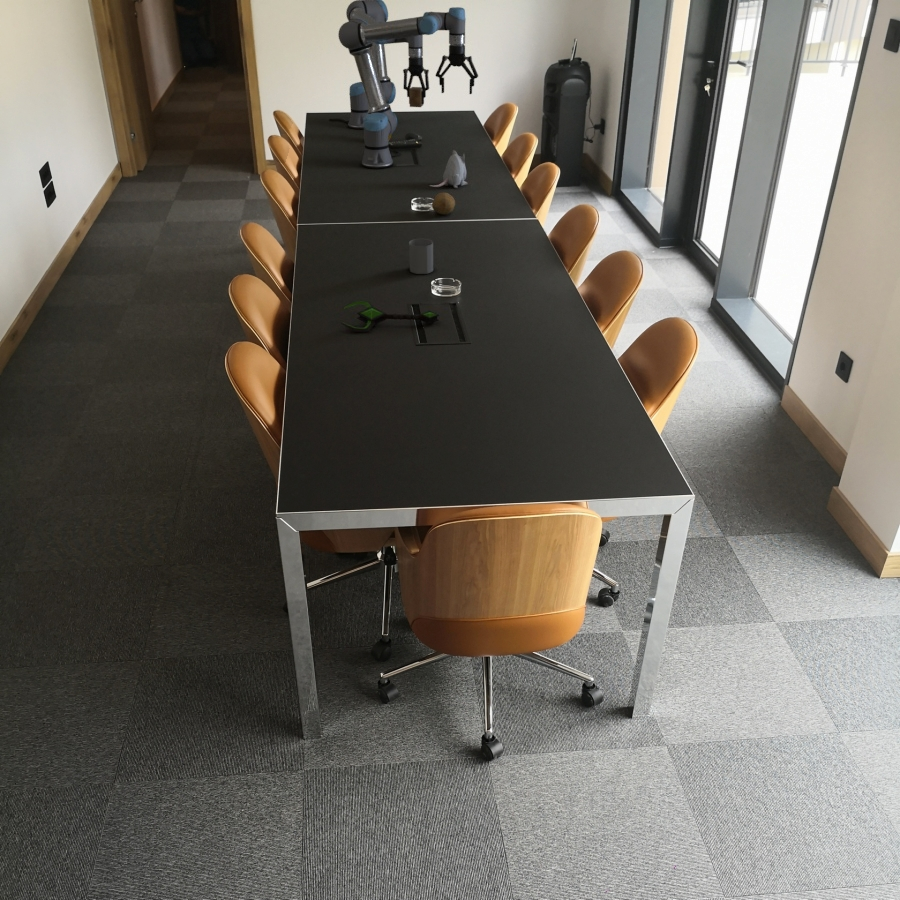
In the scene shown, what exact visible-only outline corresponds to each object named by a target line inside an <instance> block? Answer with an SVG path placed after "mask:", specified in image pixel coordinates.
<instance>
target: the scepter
mask: <svg viewBox="0 0 900 900" xmlns="http://www.w3.org/2000/svg"><path fill="white" fill-rule="evenodd" d="M357 305H360V306H361V305H362V306H365V307H367V308H364V309H363V310H360V311H358V312H357V313H356V315H359V316H358V317H357V318H356V319H357V320H358V321H361V322H362V323H364V324H366V326H365V327H355V326H352V325H351V324H348V323H345V322H341V325H343V326H344V327H346V328H348V330H351V331H353V332H357V333H368V332H370V330H371V329H372V328H373V326H376V325H377V324H380V323H382V322H384V321H386V320H401V321H402V320H409V321H411V320H413V321H418V320H420V322H423V323H425V324H428V325H431V324H434V323H437V322H438V321H439V319H438V317H440V314H438V313H436V312H433V311H432V310H428V311H426V312H423V313H420V314H409V313H408V314H407V313H405V314H403V313H401V314H399V313H398V314H397V313H386V312H384V311H383V310H380V309H378V308H377V307H376V306H375V307H374V306H373V304H372V303H371V302H370V301H369V300H355V301H352V302H350V303H348V304H346V305H345V306H343V307H342V310H344V309H345V310H346V309H347V308H350V307H353V306H357Z"/></svg>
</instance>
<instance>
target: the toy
mask: <svg viewBox="0 0 900 900" xmlns="http://www.w3.org/2000/svg"><path fill="white" fill-rule="evenodd" d="M466 178H467V168H466V156H465V153H463V154H462V155H459V154H458V153H457V151H456V150H455V149H453V150H452V153H451V155H450V156H449V158H448V161H447V163H446V166H445V170H444V171H443V177H442V179H443V181H442V182H441V183H439V184H436V185H435V184H433V185H432V184H430V185H428V186H429V187H434V188H440V187H443V186H446V187H448V186H449V185H451V186H453V188H455V189H459V187H458V186H461V187H462V186H467V185H468V182H467V181H465V180H466Z"/></svg>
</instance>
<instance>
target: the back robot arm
mask: <svg viewBox="0 0 900 900" xmlns="http://www.w3.org/2000/svg"><path fill="white" fill-rule="evenodd" d="M345 12H346V13H345V15H346V19H347V22H348V21H350V20H353V19H362V20H364V21H366V22H367V23H368V24H375V23H382V22H388V20H389V11H388V7H387V4H386V3H385V2H384V1H383V0H353V1H351V2H350V4H348V5H347V8H346V11H345ZM423 37H424V35H418V36H411V37H405V38H398V39H391V40H385V41H378V42H372V45H373V48H372V50H371V53H372V56H373V60H374V63H375V66H376V70H377V73H378V77H379V80H380V84H381V87H382V90H383V94H384V97H385V101H386V103H387V104H389V105H391V104H393V103H394V101H395V99H396V94H397V91H396V85H395V83H394V82H393V81H392V79H391V77H390V76H389V75H388V67H387V57H386V48H385V47H386V45H391V44H401V43H403V44H404V43H407V45H408V46H407V47H408V49H407V50H408V51H407V53H408V54H407V55H408V66H407V68H403V70H402V73H403V88H402V89H403V90H406V97H407V98H408V104H409V105H410V96H409V89H410V88H411V87H412V83H413V80H414V77H417V78H418V79H419V84H420V87H422V90H423V91H421V98H422V105H423V106H424V104H425V98H426V96H427V92H426V91H429V90H430V81H429V73H430V69H425V67H424V48H423V47H424V46H423V45H424V38H423ZM408 73H409V74H410V75H409V79H408ZM423 73H424V78H423ZM424 80H425V81H424ZM348 93H349V105H350V115H349V119H348V120H345V119H342V118H329V119H328V120H329V121H331V122H333V121H335V122H336V121H339V122H343V123H346V124H347V126H348V128H349V129H352V130H364V126H363V122H364V117H365V116H366V115H368V110H369V105H368V101H367V98H366V95H365V91H364V88H363V85H362V81H358V82H354V83H352V84H351V85H349V92H348Z"/></svg>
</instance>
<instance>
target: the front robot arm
mask: <svg viewBox="0 0 900 900" xmlns="http://www.w3.org/2000/svg"><path fill="white" fill-rule="evenodd" d="M466 19H467V18H466V9H465V8H464V7H462V6H461V7H460V6H459V7H458V6H457V7H454V6H453V7H449V8H448V11H446V12H441V11H425V12H423V15H422V16H416V17H408V18H403V19H396V20H389V21H388V20H387V21H386V22H382V23H375V24H368V23H367V22H366V21H364V20H362V19H353V20H350V21H348V20H347V21H346V22H344V23H342V24H341V26H340V27H339V29H338V40H339V42H340V44H341V45H342V46H343V47H344V48H346V49H348V53H349V55H351V56H353V58H354V61H355V64H356V67H357V68H356V69H357V71H358V75H359V77H360V82H362V85H363V88H364V91H365V95H366V98H367V101H368V105H369V110H368V115H366V116H365V117H364V122H363V126H364V129H363V138H364V139H363V140H364V151H363V155H362V159H361V166H362V167H363V168H366V169H371V170H381V169H387V168H390V167H392V166H394V161H393V157H397V156H399V155H400V154H401V153H400V152H399V151H398V150H396V149H395V150H394V153H396V154H391V152H390V151H391V150H390V147H389V145H390V144H389V141H388V136H389V135H391V134H392V135H393V133H394V132H395V131H396V129H397V126H398V118H397V115H396V114H395V113H394V112H393V111H392V107H391V104H387V103H386V101H385V97H384V94H383V90H382V87H381V84H380V80H379V77H378V73H377V70H376V66H375V63H374V60H373V56H372V53H371V50H372V48H373V45H372V42H378V41H385V40H391V39H398V38H405V37H411V36H418V35H423V36H429V35H430V36H431V35H433V34H435V33H436V32H437V31H448V44H449V45H448V55H446V54H443V55H442V57H441V61H440V64H439V66H438V69H437V71H436V73H435V77H436V78H438V79H439V80H438V82H439V83H438V84H439V86H441V94H444V93H445V77H444V76H445V74H447V72H448V71H449V69H450V68H451V67H458V68H459V67H460V68H461V67H462V68H463V70H464V71H465V73H466V74H467V75H468V76H469V78H470V79H469V93H468V94H469V95H472V94H473V87H474V86H475V79H477V78H479V74H478V72H477V70H476V69H477V68H476V66H475V64H474V63H473V58H472V55H469V56H466V45H465V44H466ZM447 60H448V62H449V63H448V64H447V66H446V67H445V68H444V70H443V71H442V69H443V67H444V65H445V63H446V61H447ZM466 61H467V62H468V65H469V66H470V68H469V67H468V66H467V64H466V63H465V62H466ZM441 71H442V72H441ZM440 73H441V74H440ZM392 135H391V136H392Z"/></svg>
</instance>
